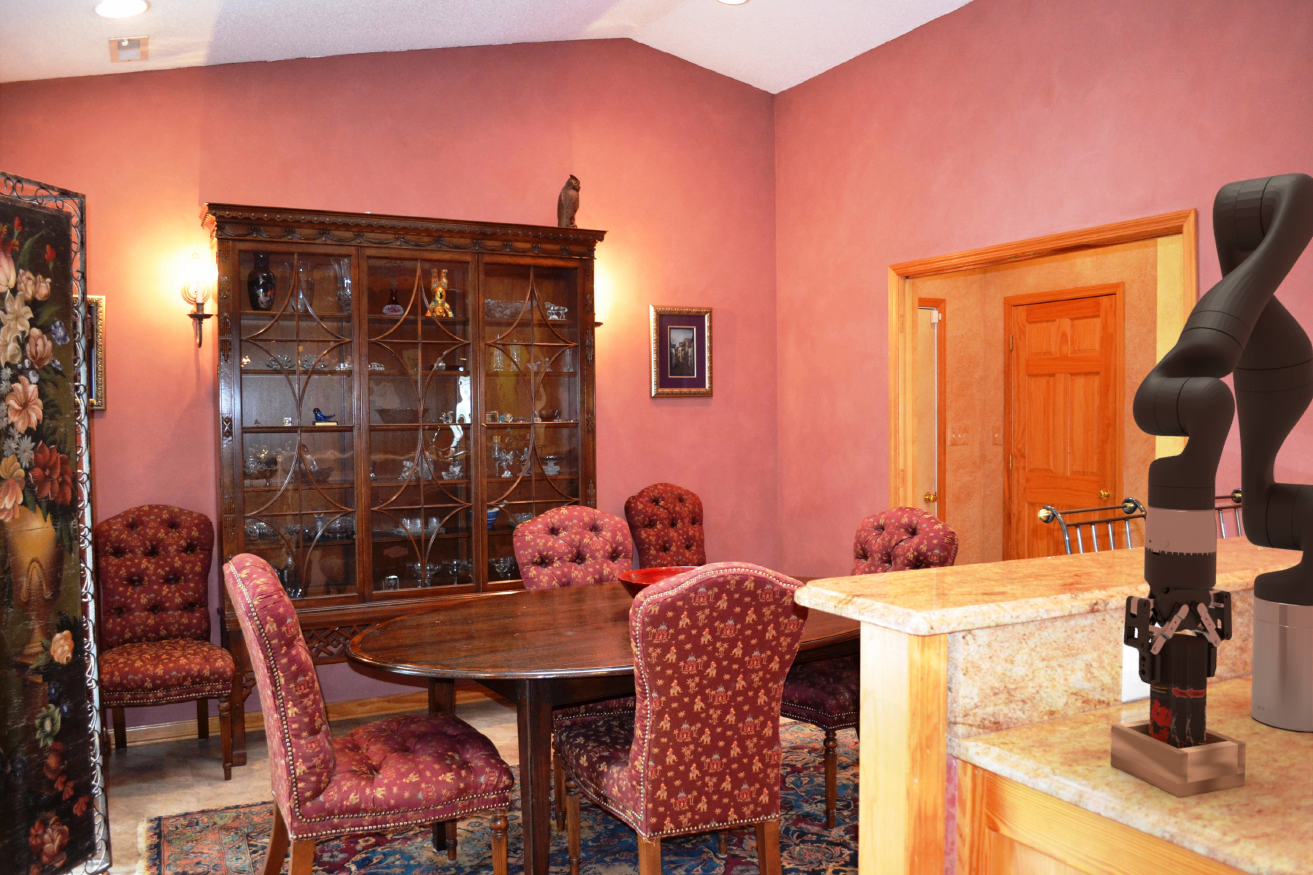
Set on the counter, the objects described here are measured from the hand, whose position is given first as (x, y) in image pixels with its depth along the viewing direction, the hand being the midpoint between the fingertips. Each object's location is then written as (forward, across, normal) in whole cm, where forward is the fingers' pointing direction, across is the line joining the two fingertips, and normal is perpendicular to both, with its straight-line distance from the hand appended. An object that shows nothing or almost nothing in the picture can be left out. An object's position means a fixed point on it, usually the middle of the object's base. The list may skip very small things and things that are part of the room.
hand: (1177, 679), depth 113 cm
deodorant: (+10, 0, 0) cm, 10 cm away
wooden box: (+12, 0, 0) cm, 12 cm away
